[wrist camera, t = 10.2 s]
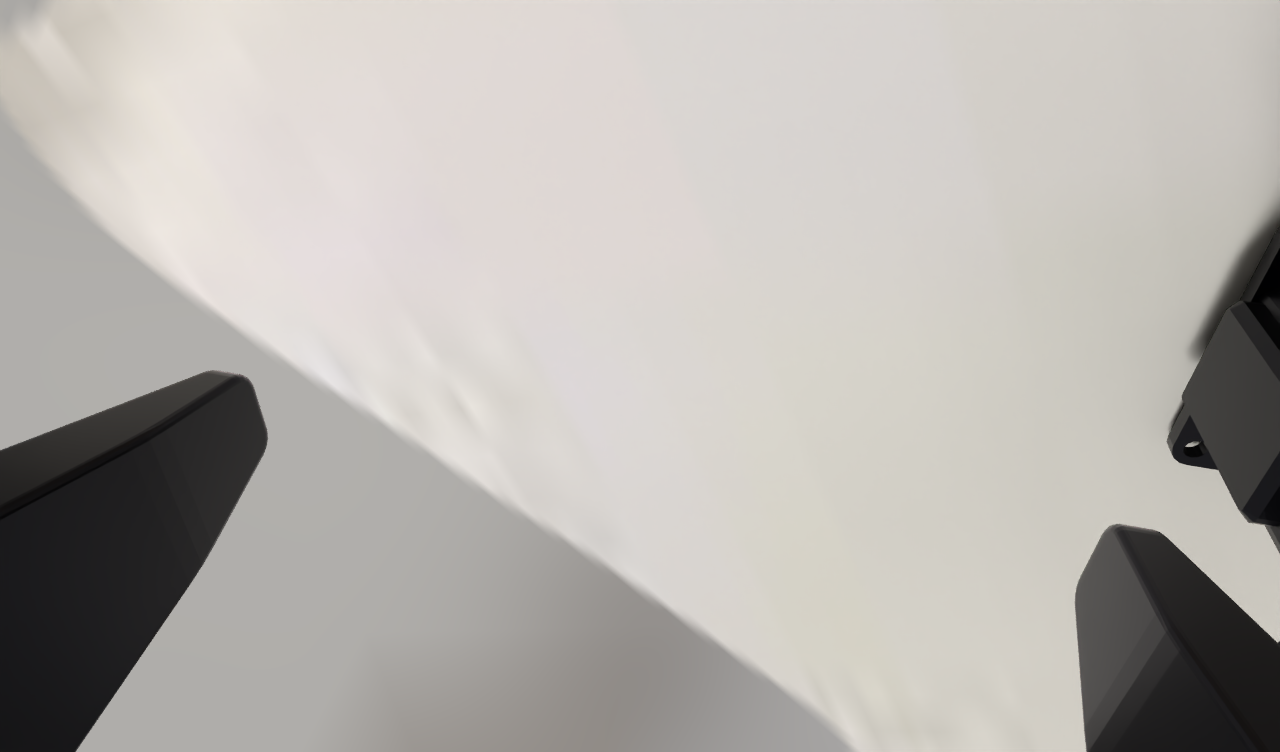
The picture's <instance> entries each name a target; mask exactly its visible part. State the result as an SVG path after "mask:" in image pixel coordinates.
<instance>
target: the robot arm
mask: <svg viewBox="0 0 1280 752" xmlns="http://www.w3.org/2000/svg"><path fill="white" fill-rule="evenodd" d="M1182 400H1183V402H1184V404H1185V405H1184V407H1183V409H1182V411H1181V413H1180V415H1179V416H1178V418H1177V420H1176V422H1175V424H1174V426H1173V428H1172V430H1171V432H1170V433H1169V435H1168V439H1167V444H1168V446H1169V449H1170V451H1171V453H1172V455H1173V458H1174V459H1176V460H1177V461H1178V462H1179V463H1182V464H1186V465H1190V466H1197V467H1203V468H1209V469H1216V470H1219V472H1220V474H1221V476H1222V478H1223V480H1224V482H1225V484H1226V486H1227V488H1228V490H1229V492H1230V494H1231V496H1232V498H1233V500H1234V502H1235V504H1236V506H1237V507H1238V509H1239V511H1240V512H1241V514H1242V515H1243V516H1244V518H1245V519H1246V520H1247V521H1248V522H1249V523H1255V524H1261V525H1265V527H1266V529H1267V530H1268V532H1269V534H1270V536H1271V538H1272V540H1273V542H1274V544H1275V545H1276V547H1277V549H1278V551H1279V553H1280V227H1279V228H1278V230H1277V231H1276V233H1275V235H1274V237H1273V239H1272V241H1271V242H1270V244H1269V246H1268V248H1267V250H1266V252H1265V254H1264V256H1263V258H1262V259H1261V261H1260V263H1259V265H1258V267H1257V269H1256V271H1255V273H1254V275H1253V276H1252V278H1251V280H1250V282H1249V284H1248V286H1247V288H1246V290H1245V292H1244V293H1243V295H1242V297H1241V299H1240V301H1239V302H1236V303H1235V304H1234V305H1232V306H1231V307H1229V308H1228V309H1227V310H1226V311H1225V313H1224V315H1223V317H1222V319H1221V321H1220V323H1219V325H1218V327H1217V329H1216V331H1215V333H1214V334H1213V336H1212V338H1211V340H1210V342H1209V344H1208V346H1207V348H1206V350H1205V352H1204V354H1203V356H1202V357H1201V359H1200V361H1199V363H1198V365H1197V367H1196V369H1195V371H1194V373H1193V375H1192V377H1191V379H1190V380H1189V382H1188V384H1187V386H1186V388H1185V390H1184V392H1183V394H1182ZM267 440H268V435H267V428H266V425H265V422H264V418H263V415H262V412H261V409H260V405H259V402H258V399H257V396H256V392H255V389H254V387H253V384H252V383H251V381H250V380H249V379H248V378H247V377H245V376H243V375H240V374H234V373H229V372H222V371H214V370H212V371H206V372H203V373H201V374H198V375H196V376H193V377H190V378H188V379H185V380H183V381H180V382H177V383H175V384H172V385H170V386H167V387H164V388H162V389H159V390H156V391H154V392H151V393H149V394H146V395H143V396H141V397H138V398H136V399H133V400H130V401H128V402H125V403H123V404H120V405H117V406H115V407H112V408H110V409H107V410H105V411H102V412H99V413H97V414H94V415H91V416H89V417H86V418H84V419H81V420H79V421H76V422H73V423H70V424H68V425H65V426H63V427H60V428H58V429H55V430H52V431H50V432H47V433H44V434H42V435H40V436H37V437H34V438H31V439H29V440H26V441H24V442H21V443H18V444H16V445H13V446H11V447H8V448H5V449H3V450H0V752H76V750H77V749H78V748H79V746H80V744H81V743H82V742H83V740H84V739H85V737H86V736H87V734H88V733H89V731H90V730H91V729H92V727H93V726H94V724H95V723H96V721H97V720H98V718H99V717H100V715H101V714H102V713H103V711H104V710H105V708H106V707H107V705H108V704H109V702H110V701H111V699H112V698H113V696H114V695H115V693H116V692H117V690H118V689H119V688H120V686H121V685H122V683H123V682H124V680H125V679H126V677H127V676H128V674H129V673H130V671H131V670H132V669H133V667H134V666H135V664H136V663H137V661H138V660H139V658H140V657H141V655H142V654H143V652H144V651H145V650H146V648H147V647H148V645H149V644H150V642H151V641H152V639H153V638H154V636H155V635H156V634H157V632H158V631H159V629H160V628H161V626H162V625H163V623H164V622H165V620H166V619H167V617H168V616H169V614H170V613H171V612H172V610H173V609H174V607H175V606H176V604H177V603H178V601H179V600H180V598H181V597H182V595H183V594H184V593H185V591H186V590H187V588H188V587H189V585H190V584H191V582H192V581H193V579H194V578H195V576H196V575H197V573H198V571H199V570H200V568H201V567H202V565H203V564H204V562H205V560H206V558H207V557H208V555H209V553H210V551H211V550H212V548H213V546H214V545H215V543H216V541H217V539H218V537H219V535H220V534H221V532H222V530H223V528H224V526H225V524H226V523H227V521H228V519H229V517H230V515H231V513H232V512H233V510H234V508H235V506H236V504H237V502H238V500H239V498H240V497H241V495H242V493H243V491H244V489H245V488H246V486H247V484H248V482H249V480H250V478H251V476H252V474H253V473H254V471H255V469H256V467H257V465H258V464H259V462H260V460H261V458H262V456H263V454H264V452H265V449H266V446H267ZM1193 441H1201V442H1200V443H1199V444H1198V445H1196V446H1193V447H1185V446H1186V445H1187V444H1188V443H1191V442H1193ZM1075 611H1076V625H1077V638H1078V652H1079V665H1080V679H1081V692H1082V706H1083V719H1084V732H1085V742H1086V751H1087V752H1280V641H1279V642H1278V643H1277V642H1276V641H1275V640H1274V639H1273V638H1272V637H1271V636H1270V635H1269V634H1268V633H1267V632H1265V631H1264V630H1263V629H1262V628H1261V627H1260V626H1259V625H1258V624H1257V623H1256V622H1255V621H1254V620H1253V619H1252V618H1251V617H1250V616H1249V615H1248V614H1247V613H1246V612H1244V611H1243V610H1242V609H1241V608H1240V607H1239V606H1238V605H1237V604H1236V603H1235V602H1234V601H1233V600H1232V599H1231V598H1230V597H1229V596H1228V595H1227V594H1226V593H1225V592H1223V591H1222V590H1221V589H1220V588H1219V587H1218V586H1217V585H1216V584H1215V583H1214V582H1213V581H1212V580H1211V579H1210V578H1209V577H1208V576H1207V575H1206V574H1205V573H1204V572H1203V571H1201V570H1200V569H1199V568H1198V567H1197V566H1196V565H1195V564H1194V563H1193V562H1192V561H1191V560H1190V559H1189V558H1188V557H1187V556H1186V555H1185V554H1184V553H1183V552H1182V551H1180V550H1179V549H1178V548H1177V547H1176V546H1175V545H1174V544H1173V543H1172V542H1171V541H1170V540H1169V539H1168V538H1167V537H1165V536H1164V535H1163V534H1162V533H1160V532H1158V531H1155V530H1151V529H1145V528H1140V527H1134V526H1128V525H1122V524H1115V525H1111V526H1109V527H1108V528H1107V529H1106V530H1105V531H1104V533H1103V534H1102V536H1101V538H1100V540H1099V542H1098V544H1097V546H1096V548H1095V550H1094V552H1093V553H1092V555H1091V557H1090V559H1089V561H1088V563H1087V565H1086V567H1085V569H1084V571H1083V573H1082V575H1081V577H1080V579H1079V581H1078V585H1077V588H1076V594H1075Z"/></svg>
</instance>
